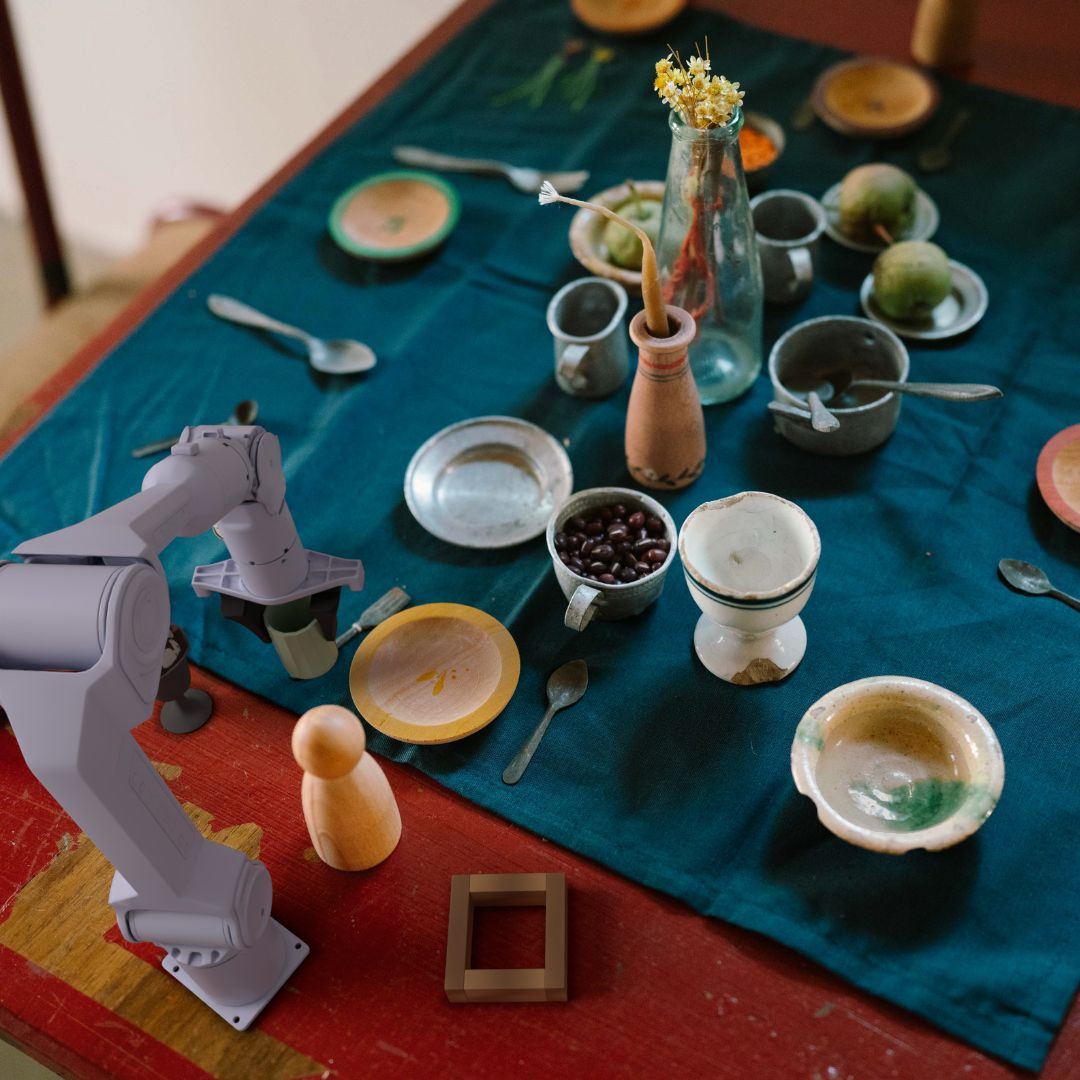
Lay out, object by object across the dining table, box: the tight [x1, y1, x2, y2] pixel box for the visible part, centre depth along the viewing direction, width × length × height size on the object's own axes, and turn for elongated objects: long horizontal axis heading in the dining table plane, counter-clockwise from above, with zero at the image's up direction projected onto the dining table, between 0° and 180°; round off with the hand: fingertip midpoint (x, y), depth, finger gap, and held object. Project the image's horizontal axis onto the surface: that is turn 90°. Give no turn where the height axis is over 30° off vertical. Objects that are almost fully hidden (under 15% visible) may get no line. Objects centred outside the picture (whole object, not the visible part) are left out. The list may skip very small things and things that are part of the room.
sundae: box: [155, 621, 213, 735], centre depth 105 cm, size 7×7×15 cm
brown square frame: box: [443, 872, 568, 1003], centre depth 92 cm, size 9×9×3 cm
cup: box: [263, 594, 339, 680], centre depth 107 cm, size 5×5×7 cm
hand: (301, 633), depth 107 cm, fingers closed on cup, 5 cm apart
